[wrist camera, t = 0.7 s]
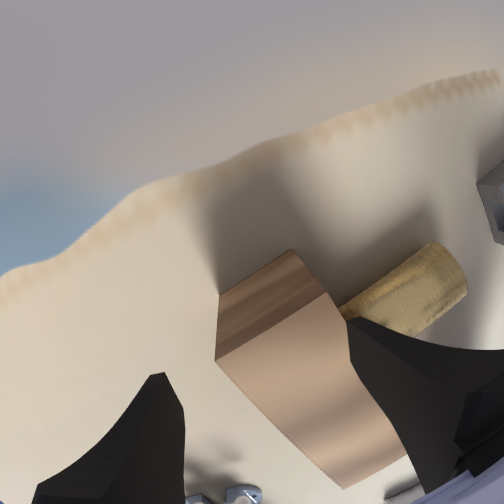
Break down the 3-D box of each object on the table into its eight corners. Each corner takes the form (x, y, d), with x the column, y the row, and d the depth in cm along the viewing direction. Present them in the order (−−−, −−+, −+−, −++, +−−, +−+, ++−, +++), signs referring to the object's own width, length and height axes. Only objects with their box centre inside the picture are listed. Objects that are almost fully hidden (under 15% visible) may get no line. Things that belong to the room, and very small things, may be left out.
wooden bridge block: (375, 384, 26) (416, 448, 17) (318, 419, 26) (343, 489, 18) (291, 248, 22) (327, 291, 14) (219, 295, 23) (214, 361, 14)
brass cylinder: (438, 285, 24) (473, 306, 19) (322, 367, 25) (339, 405, 20) (418, 236, 23) (456, 250, 18) (291, 324, 24) (305, 358, 19)
